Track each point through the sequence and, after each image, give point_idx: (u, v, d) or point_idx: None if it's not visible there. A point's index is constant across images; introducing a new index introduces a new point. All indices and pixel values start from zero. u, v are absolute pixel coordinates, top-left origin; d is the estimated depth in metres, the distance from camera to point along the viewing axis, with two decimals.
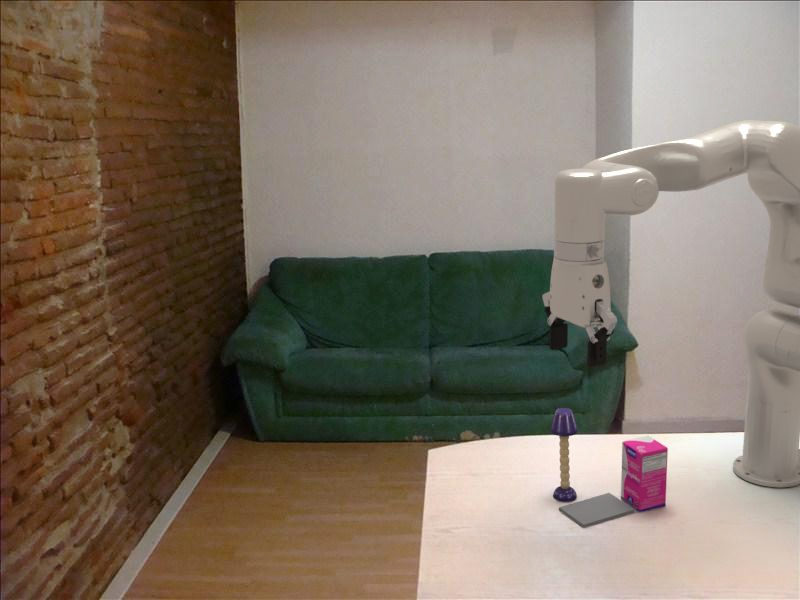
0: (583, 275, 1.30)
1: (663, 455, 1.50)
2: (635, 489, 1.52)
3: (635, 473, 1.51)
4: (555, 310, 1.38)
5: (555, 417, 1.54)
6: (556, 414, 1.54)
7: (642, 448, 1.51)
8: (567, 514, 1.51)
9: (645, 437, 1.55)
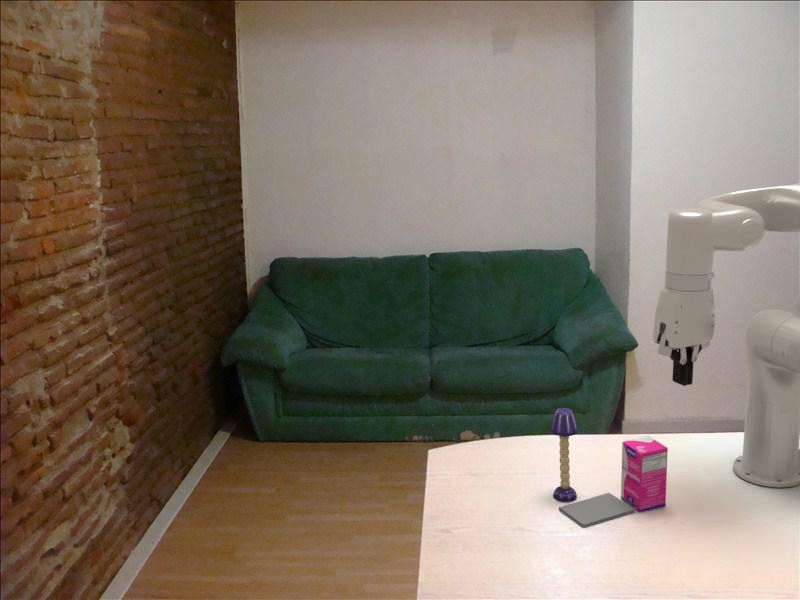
0: (712, 297, 1.49)
1: (663, 455, 1.50)
2: (635, 489, 1.52)
3: (635, 473, 1.51)
4: (680, 342, 1.48)
5: (555, 417, 1.54)
6: (556, 414, 1.54)
7: (642, 448, 1.51)
8: (567, 514, 1.51)
9: (645, 437, 1.55)
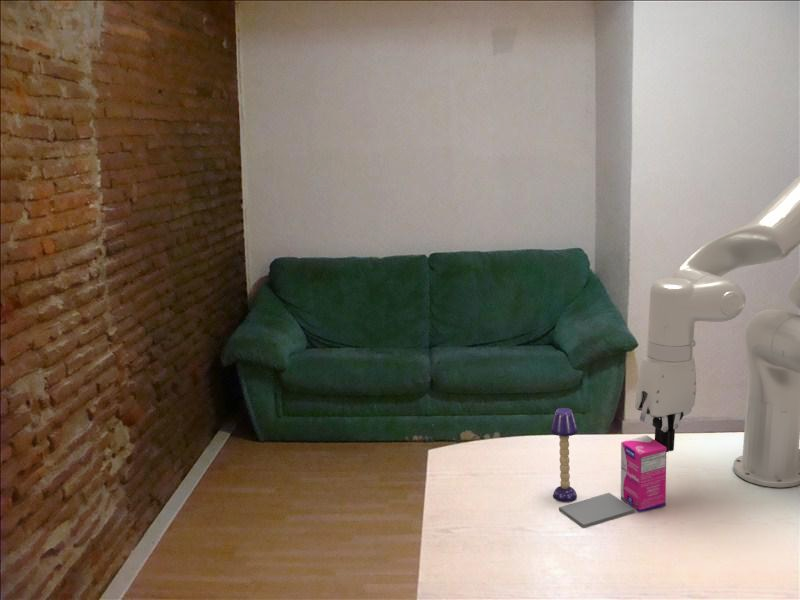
0: (694, 366, 1.50)
1: (662, 455, 1.50)
2: (634, 489, 1.52)
3: (634, 473, 1.51)
4: (662, 411, 1.49)
5: (555, 417, 1.54)
6: (556, 414, 1.54)
7: (641, 448, 1.50)
8: (567, 514, 1.51)
9: (644, 437, 1.55)
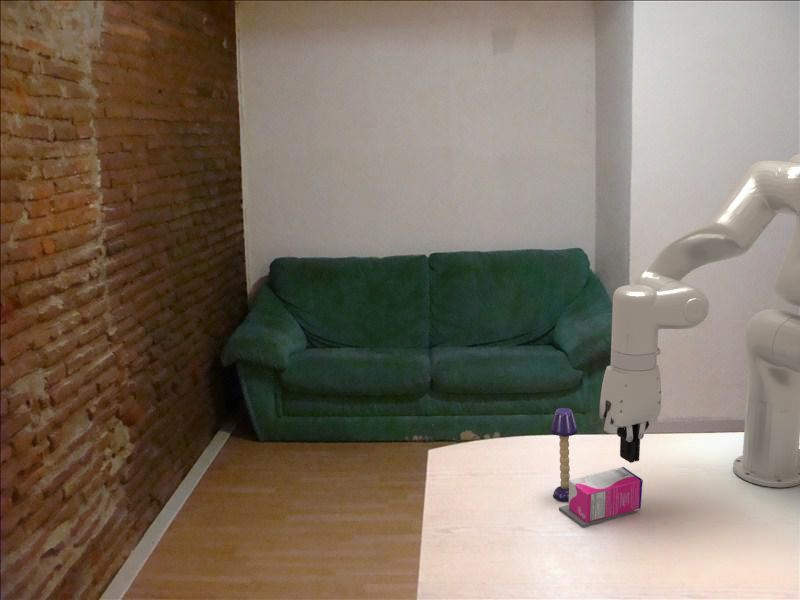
0: (659, 374, 1.47)
1: (593, 497, 1.47)
2: None
3: None
4: (626, 421, 1.46)
5: (555, 417, 1.54)
6: (556, 414, 1.54)
7: (581, 511, 1.49)
8: (567, 514, 1.51)
9: (570, 486, 1.51)
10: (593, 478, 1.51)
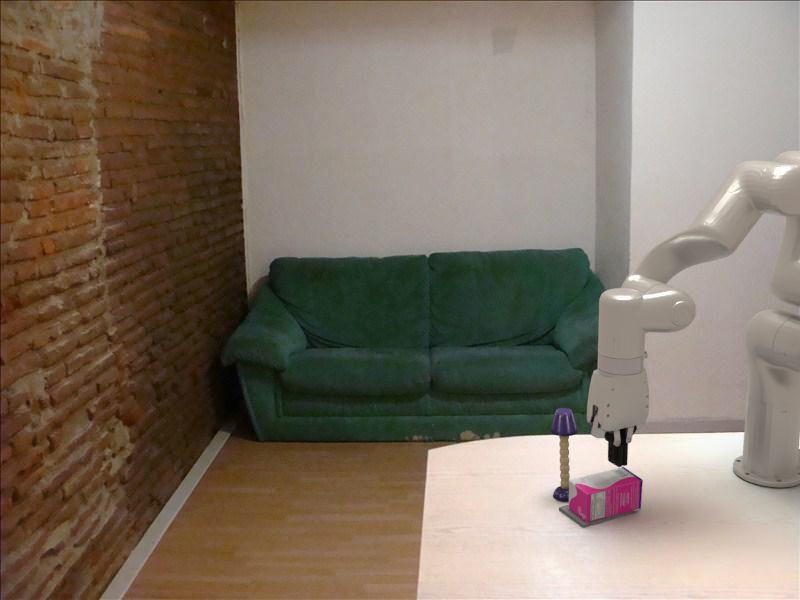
0: (646, 378, 1.46)
1: (593, 497, 1.47)
2: None
3: None
4: (613, 425, 1.45)
5: (555, 417, 1.54)
6: (556, 414, 1.54)
7: (581, 511, 1.49)
8: (567, 514, 1.51)
9: (570, 486, 1.51)
10: (593, 478, 1.51)
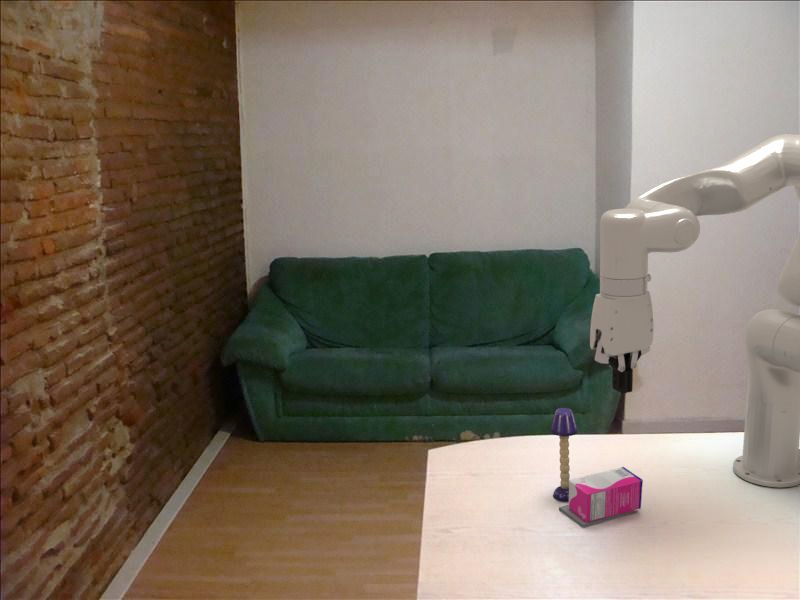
0: (650, 301, 1.43)
1: (593, 497, 1.47)
2: None
3: None
4: (617, 349, 1.42)
5: (555, 417, 1.54)
6: (556, 414, 1.54)
7: (581, 511, 1.49)
8: (567, 514, 1.51)
9: (570, 486, 1.51)
10: (593, 478, 1.51)
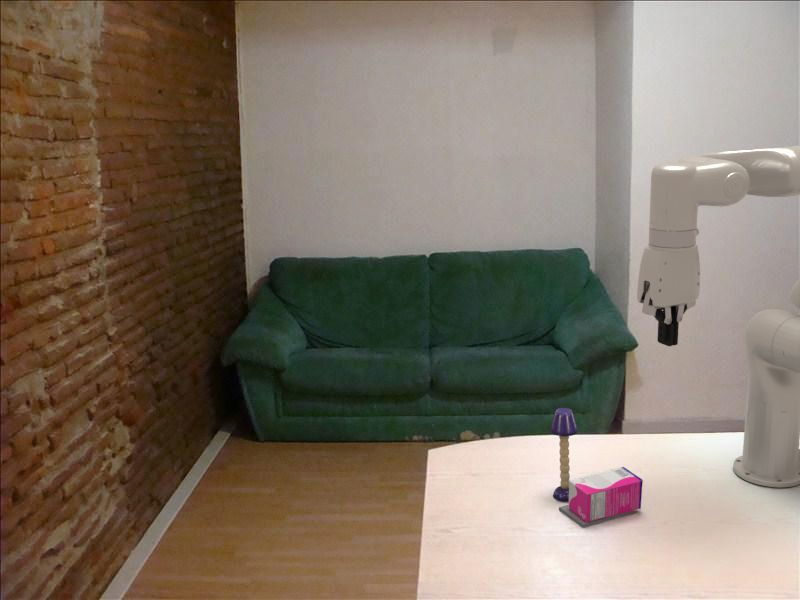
0: (697, 254, 1.45)
1: (593, 497, 1.47)
2: None
3: None
4: (665, 301, 1.44)
5: (555, 417, 1.54)
6: (556, 414, 1.54)
7: (581, 511, 1.49)
8: (567, 514, 1.51)
9: (570, 486, 1.51)
10: (593, 478, 1.51)
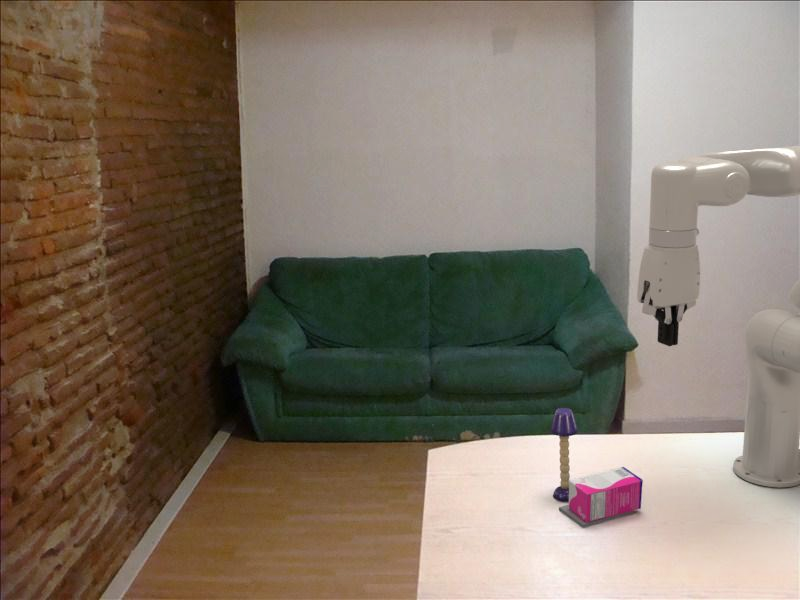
0: (698, 254, 1.45)
1: (593, 497, 1.47)
2: None
3: None
4: (665, 301, 1.44)
5: (555, 417, 1.54)
6: (556, 414, 1.54)
7: (581, 511, 1.49)
8: (567, 514, 1.51)
9: (570, 486, 1.51)
10: (593, 478, 1.51)
